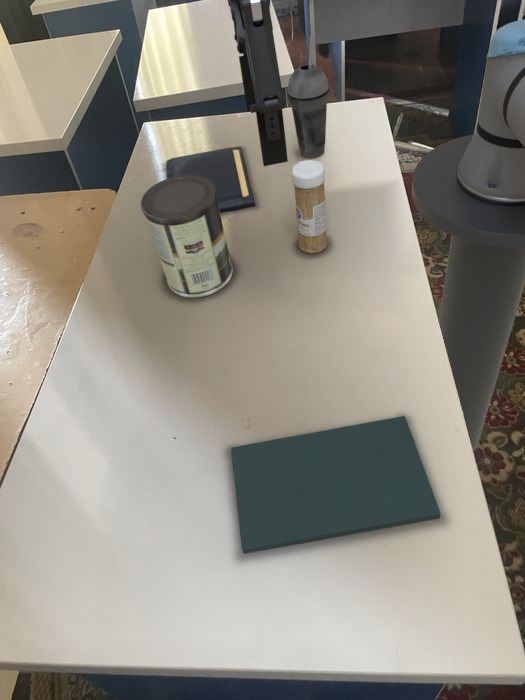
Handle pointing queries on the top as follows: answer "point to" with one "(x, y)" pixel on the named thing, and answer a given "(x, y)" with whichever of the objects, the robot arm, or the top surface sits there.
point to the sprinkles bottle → (310, 205)
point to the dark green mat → (330, 484)
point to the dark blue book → (218, 175)
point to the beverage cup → (309, 107)
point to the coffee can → (188, 234)
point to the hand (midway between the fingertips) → (266, 133)
